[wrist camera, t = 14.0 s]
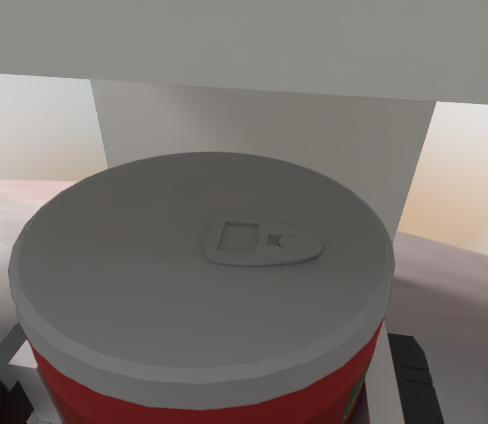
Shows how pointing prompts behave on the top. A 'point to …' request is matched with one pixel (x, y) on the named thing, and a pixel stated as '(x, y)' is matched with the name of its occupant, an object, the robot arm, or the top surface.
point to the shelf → (264, 78)
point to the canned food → (203, 292)
